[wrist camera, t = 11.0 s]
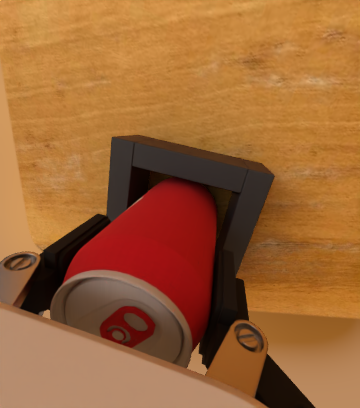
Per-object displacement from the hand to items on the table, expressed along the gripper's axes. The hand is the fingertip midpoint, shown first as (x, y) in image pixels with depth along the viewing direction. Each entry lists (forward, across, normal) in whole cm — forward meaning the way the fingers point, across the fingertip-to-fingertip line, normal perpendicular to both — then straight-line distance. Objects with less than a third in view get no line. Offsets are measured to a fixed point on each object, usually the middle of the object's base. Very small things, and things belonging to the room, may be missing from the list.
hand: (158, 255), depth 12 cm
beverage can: (+7, 0, 0) cm, 7 cm away
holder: (+8, 0, 0) cm, 8 cm away
